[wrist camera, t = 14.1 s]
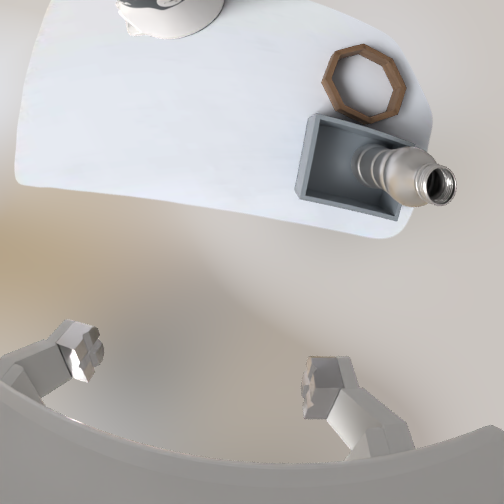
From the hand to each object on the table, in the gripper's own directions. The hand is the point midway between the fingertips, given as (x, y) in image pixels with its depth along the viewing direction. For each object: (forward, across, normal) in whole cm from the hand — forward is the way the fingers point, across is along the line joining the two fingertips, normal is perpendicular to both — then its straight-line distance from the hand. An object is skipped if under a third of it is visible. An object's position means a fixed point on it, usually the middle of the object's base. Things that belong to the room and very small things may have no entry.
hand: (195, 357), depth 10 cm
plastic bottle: (+34, -17, -6) cm, 38 cm away
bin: (+34, -14, -6) cm, 37 cm away
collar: (+34, -15, -19) cm, 42 cm away
